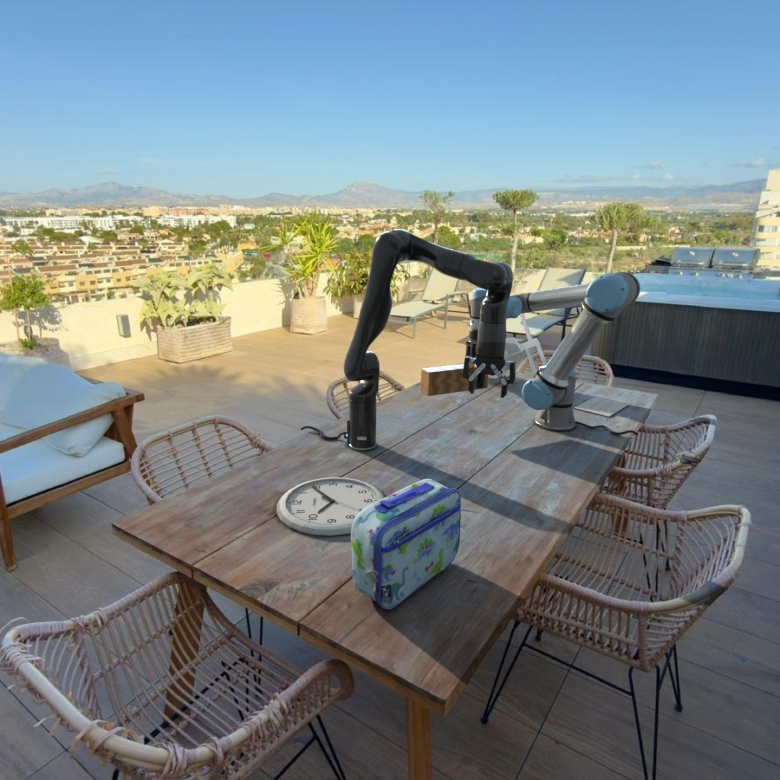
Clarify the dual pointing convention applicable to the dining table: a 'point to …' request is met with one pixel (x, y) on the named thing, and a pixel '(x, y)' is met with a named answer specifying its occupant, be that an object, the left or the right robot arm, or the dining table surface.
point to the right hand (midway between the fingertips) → (475, 385)
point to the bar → (447, 379)
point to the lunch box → (405, 541)
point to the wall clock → (326, 505)
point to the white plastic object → (523, 349)
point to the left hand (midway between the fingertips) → (487, 395)
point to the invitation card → (601, 406)
